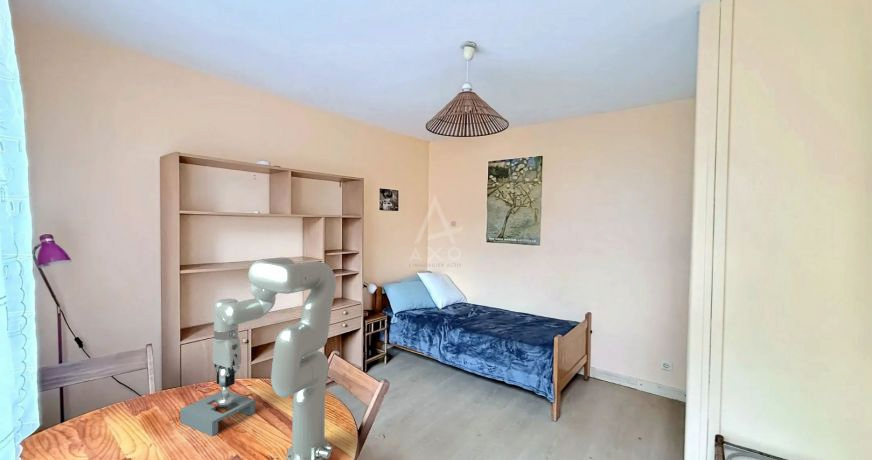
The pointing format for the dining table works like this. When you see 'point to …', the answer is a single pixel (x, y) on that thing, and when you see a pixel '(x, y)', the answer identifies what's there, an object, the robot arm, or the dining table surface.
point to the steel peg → (224, 389)
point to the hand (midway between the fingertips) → (225, 383)
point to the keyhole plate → (213, 412)
